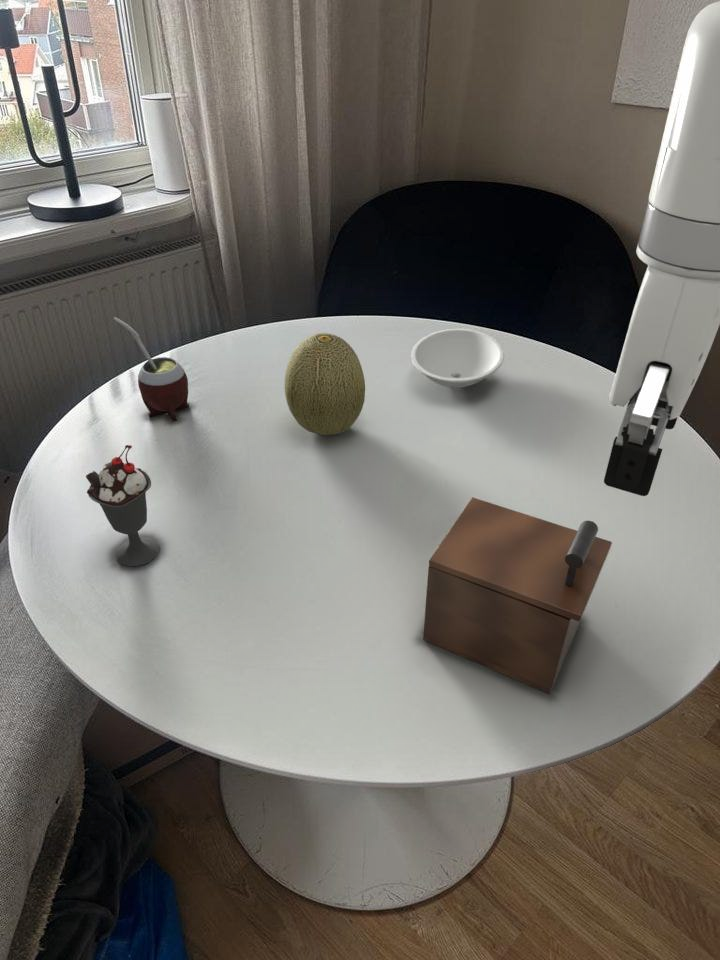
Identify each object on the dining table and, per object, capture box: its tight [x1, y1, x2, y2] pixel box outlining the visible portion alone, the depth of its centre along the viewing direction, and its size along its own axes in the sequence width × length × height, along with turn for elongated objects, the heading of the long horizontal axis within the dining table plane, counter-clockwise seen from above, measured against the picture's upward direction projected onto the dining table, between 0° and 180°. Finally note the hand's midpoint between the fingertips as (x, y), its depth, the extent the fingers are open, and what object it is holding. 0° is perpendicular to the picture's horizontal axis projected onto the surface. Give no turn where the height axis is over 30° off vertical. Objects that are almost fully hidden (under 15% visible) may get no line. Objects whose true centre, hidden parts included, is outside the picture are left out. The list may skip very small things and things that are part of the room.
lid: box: [428, 497, 613, 623], centre depth 66 cm, size 14×11×5 cm
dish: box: [411, 328, 505, 388], centre depth 113 cm, size 18×14×5 cm
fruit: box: [284, 332, 366, 436], centre depth 99 cm, size 11×11×15 cm
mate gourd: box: [113, 316, 190, 423], centre depth 103 cm, size 8×8×15 cm
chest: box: [422, 565, 581, 695], centre depth 71 cm, size 14×11×11 cm
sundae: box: [85, 444, 160, 567], centre depth 79 cm, size 7×7×15 cm
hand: (640, 454), depth 55 cm, fingers open, 9 cm apart
